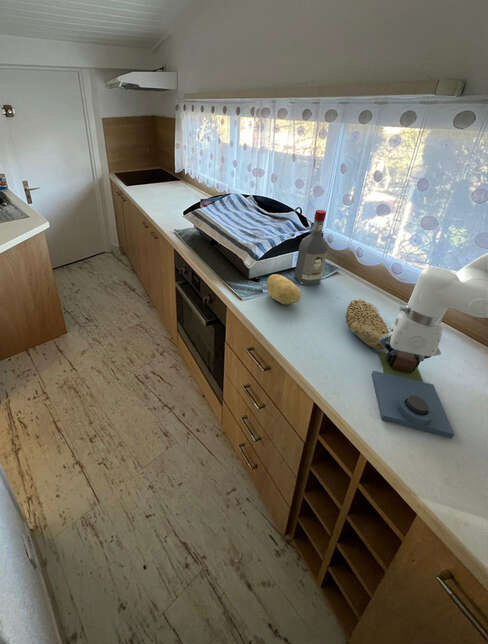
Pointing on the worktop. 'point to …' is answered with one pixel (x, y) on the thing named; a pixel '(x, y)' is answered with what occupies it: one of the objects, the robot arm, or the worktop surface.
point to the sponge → (366, 323)
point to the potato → (283, 289)
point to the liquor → (312, 253)
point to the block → (404, 362)
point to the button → (417, 405)
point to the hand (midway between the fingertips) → (400, 364)
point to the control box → (394, 409)
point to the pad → (389, 370)
